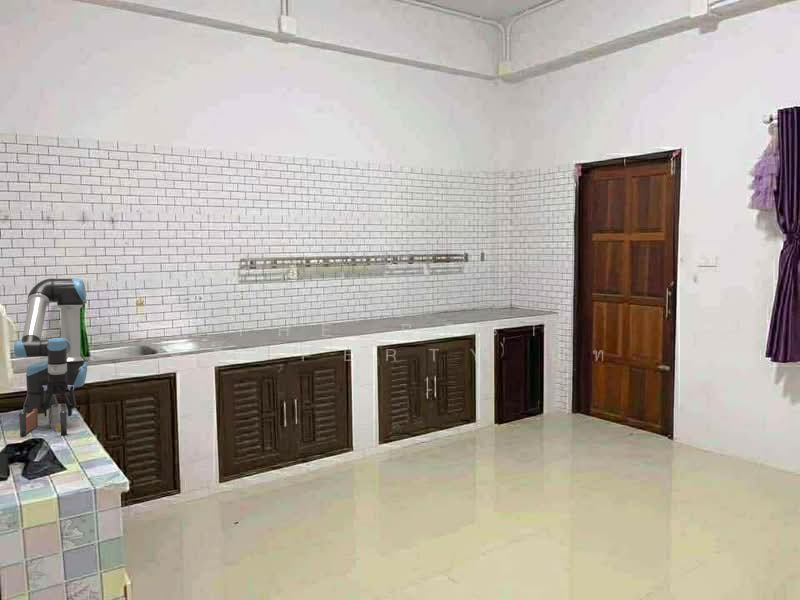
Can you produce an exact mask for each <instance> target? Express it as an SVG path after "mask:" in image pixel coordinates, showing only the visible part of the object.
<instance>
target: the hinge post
mask: <svg viewBox="0 0 800 600" xmlns="http://www.w3.org/2000/svg"><path fill="white" fill-rule="evenodd" d="M26 415H27V413H26V412H24V411H20V413H18V417H19V437H20V438H25V437H27V434H28V433H26Z"/></svg>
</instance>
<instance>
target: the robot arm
mask: <svg viewBox="0 0 800 600" xmlns="http://www.w3.org/2000/svg"><path fill="white" fill-rule="evenodd" d="M87 299H88V298H87V291H86V285H85V282H84V280H82V279H80V278H46V279H44V280H41V281H39V282H38V283H37V284H35V285H34V286H33V287H32V288H31V290H30V291H29V293H28V295H27V300H26V301H27V305H28V307H27V312H26V317H25V321H24V326H23V331H22V336H21V339H20V340H16V341H15V342H14V345H13V353H14V356H15V357H17V358H38V357H42V358H43V357H44V358H45V357H47V361H41V362H36V363H33V364H30V365H28V366H27V367H26V373H25V376H26V379H25V380H26V398H25V400H24V403H23V406H22V407H23V408H22V410H23V411H22V412H25V413H26V414H29V413H31V412H32V410H33V409H37V411H38V414H41V413H44V414H43V415H44V417H46V425H50V423H51V415H50V412H51V406H52V405H56V404H59V402H58V400H57V397H56V395H57V394H58V395H61V397H62V399H63V401H64V404H66V406H67V409H66V412H67V424H68V423H69V424H70V422H71V418H70V417H71V416H73V415H72V414H73V409H74V408H76V406H77V400H76V395H75V388H77V387H83V386H84V385H85V383H86V381H87V380H86V379H87V373H88V363H85V360H84V358H83V357H82V356H81V308H82V307H83V306H84V303H85V302H87ZM50 303H57V304H56V305H57V308H59V309H60V337H53V338H49V339H47V340H46V339H42V333H43V327H44V323H45V317H46V311H47V307H48V306H49V305H50ZM41 339H42V340H41ZM67 389H68V391H69V397H70V399H69V397H68V394H67V391H66V390H67ZM69 424H68V425H69Z"/></svg>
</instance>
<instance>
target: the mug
mask: <svg viewBox="0 0 800 600" xmlns="http://www.w3.org/2000/svg"><path fill="white" fill-rule="evenodd" d="M66 409H67V406H66V404H65V403H58V404H56V405H52V406H51V412H50V415H51V423H50V424H49V426H50V428H51V429H52V430H56V423H60V412H61V411H66ZM69 424H70V423H68V424H67V428H69Z"/></svg>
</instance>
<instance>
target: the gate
mask: <svg viewBox="0 0 800 600" xmlns="http://www.w3.org/2000/svg"><path fill="white" fill-rule="evenodd" d="M38 416H39V413H38V411H37V409H33V410H32V412H31V413H27V414H26V433H27V434H28V433H30V432H31V431H32V430H33V429H34V428H36V427H38V425H39V419H38V418H39V417H38Z"/></svg>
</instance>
